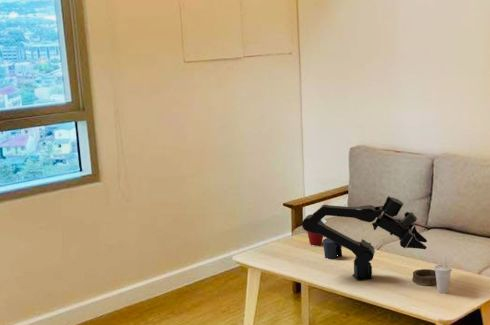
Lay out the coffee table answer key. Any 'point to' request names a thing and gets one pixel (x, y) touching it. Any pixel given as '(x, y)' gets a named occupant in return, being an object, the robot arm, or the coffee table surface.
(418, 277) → the bowl
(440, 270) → the smoothie
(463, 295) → the coffee table surface
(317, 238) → the plastic cup
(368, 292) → the coffee table surface
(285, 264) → the coffee table surface
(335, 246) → the speaker
